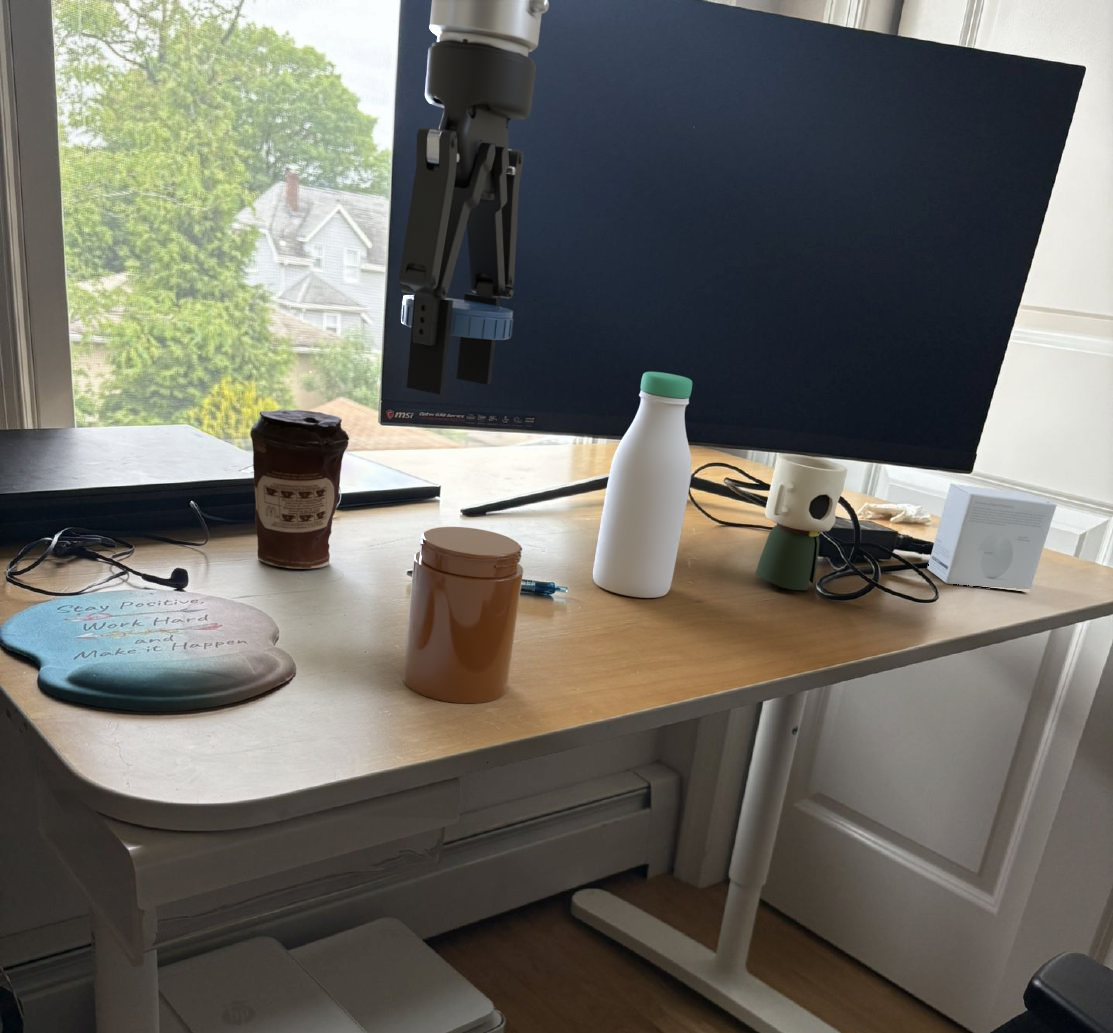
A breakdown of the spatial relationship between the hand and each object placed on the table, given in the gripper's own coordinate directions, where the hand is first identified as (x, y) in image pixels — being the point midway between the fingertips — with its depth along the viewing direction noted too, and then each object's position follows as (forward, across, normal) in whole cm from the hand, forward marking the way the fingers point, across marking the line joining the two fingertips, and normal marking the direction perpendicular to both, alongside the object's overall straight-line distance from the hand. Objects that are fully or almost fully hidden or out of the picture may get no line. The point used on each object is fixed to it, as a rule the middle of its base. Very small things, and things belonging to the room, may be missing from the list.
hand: (450, 385), depth 88 cm
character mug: (+19, +34, -25) cm, 46 cm away
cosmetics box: (+19, +56, -45) cm, 74 cm away
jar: (+18, -13, -8) cm, 24 cm away
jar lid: (-6, 0, 0) cm, 6 cm away
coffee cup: (+19, +4, +15) cm, 24 cm away
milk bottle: (+19, +21, -12) cm, 30 cm away
